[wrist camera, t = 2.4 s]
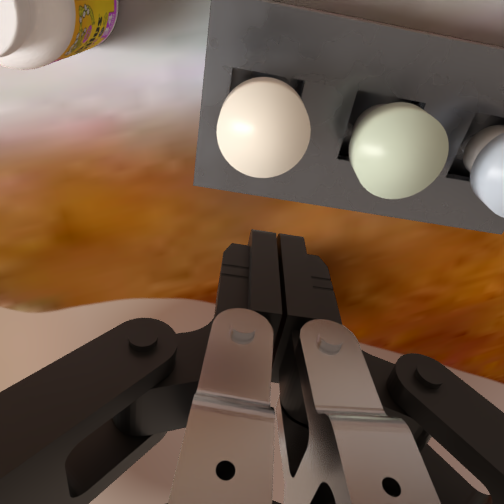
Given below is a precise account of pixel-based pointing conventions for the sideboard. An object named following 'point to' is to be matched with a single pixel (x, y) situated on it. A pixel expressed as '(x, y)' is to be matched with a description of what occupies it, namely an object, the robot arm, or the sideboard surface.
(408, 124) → the cap mid
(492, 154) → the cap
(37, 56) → the supplement bottle
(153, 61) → the sideboard surface
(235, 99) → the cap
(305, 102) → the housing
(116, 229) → the sideboard surface
